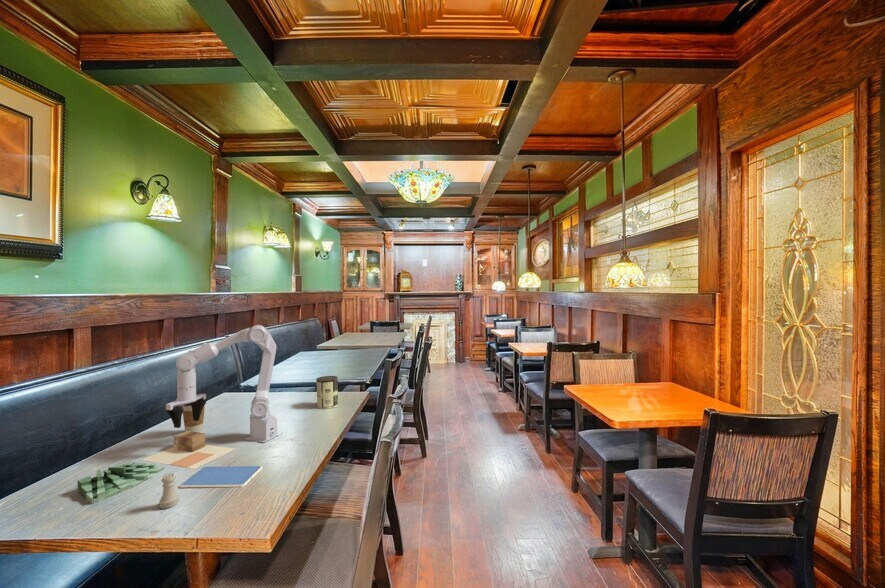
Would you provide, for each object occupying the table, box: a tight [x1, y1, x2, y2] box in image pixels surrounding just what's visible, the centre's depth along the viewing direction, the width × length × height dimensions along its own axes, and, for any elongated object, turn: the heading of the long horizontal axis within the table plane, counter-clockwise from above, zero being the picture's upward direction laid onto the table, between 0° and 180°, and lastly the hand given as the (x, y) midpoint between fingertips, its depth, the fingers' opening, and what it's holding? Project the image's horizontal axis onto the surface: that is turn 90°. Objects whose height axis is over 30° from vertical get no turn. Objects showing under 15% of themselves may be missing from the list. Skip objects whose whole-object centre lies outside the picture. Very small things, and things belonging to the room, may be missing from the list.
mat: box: [141, 444, 235, 470], centre depth 132 cm, size 24×16×1 cm, turn 72°
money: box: [77, 461, 166, 505], centre depth 112 cm, size 20×16×5 cm
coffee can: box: [315, 375, 339, 410], centre depth 188 cm, size 10×10×14 cm
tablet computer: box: [179, 465, 263, 489], centre depth 116 cm, size 19×13×1 cm, turn 91°
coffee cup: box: [181, 398, 207, 433], centre depth 154 cm, size 8×8×15 cm
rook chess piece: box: [158, 472, 180, 510], centre depth 101 cm, size 4×4×8 cm
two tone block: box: [173, 430, 206, 452], centre depth 138 cm, size 9×5×5 cm, turn 72°
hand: (187, 423), depth 137 cm, fingers open, 7 cm apart
